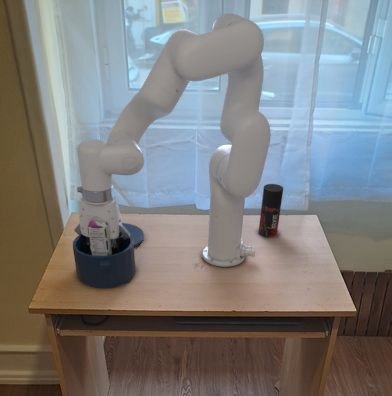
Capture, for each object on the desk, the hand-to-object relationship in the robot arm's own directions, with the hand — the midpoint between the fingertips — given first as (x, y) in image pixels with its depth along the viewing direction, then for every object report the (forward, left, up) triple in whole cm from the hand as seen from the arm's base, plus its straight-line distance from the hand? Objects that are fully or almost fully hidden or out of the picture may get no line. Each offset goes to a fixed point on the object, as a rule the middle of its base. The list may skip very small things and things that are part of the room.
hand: (104, 256), depth 136 cm
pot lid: (+3, -20, -5) cm, 21 cm away
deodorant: (-43, -34, -5) cm, 55 cm away
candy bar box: (0, 0, -5) cm, 5 cm away
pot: (0, 0, -5) cm, 5 cm away
